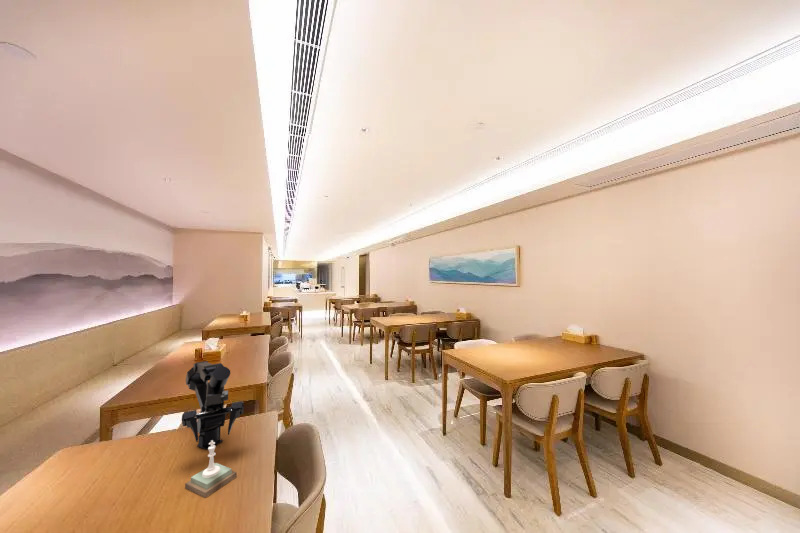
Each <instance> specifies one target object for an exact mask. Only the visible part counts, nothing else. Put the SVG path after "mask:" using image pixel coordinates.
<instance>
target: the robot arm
mask: <svg viewBox="0 0 800 533" xmlns="http://www.w3.org/2000/svg"><path fill="white" fill-rule="evenodd" d="M185 375H186V376H185V385H186V386H187V387H188V389H189V390H191V391H194V392H195V396H196V398H197V401H198V403H199V407H200V410H199V411H200V412H197V409H193V410H188V411H185V412H183V413H182V415H181V423H182V427H186V428H187V429H191V431H192V433H193V436H194V439H195V442H196V443H198V444H196V446H197V447H198V448H201V449H204V450H208V447H210V446H211V445H209V443H210V442H211V441H212V440H213V442H215V444H213V445H215V446H218V445H220V444H221V443H222V442H224V440H223V439H221V428H222V427H224V426H225V423H226V422H225V421H226V416H227V414H228V413H230V414H229V420H228V427H227V428H228V429H227V435H230V434H231V430H232V427H233V425H234V423H235V421H236V419H237V418H239V417H240V415H243V414H244V411H245V410H244V409H245V406H244V405H245V402H244V401H241V400H239V401H236V402H231V406H228V407H224V406H225V401H229V390H225V386H226V384H227V382H228V380H229V378H230V375H231V370H230V368H228V367H227V366H225V365H223V363H221V362H219V363H214V364H213V363H210V362H208V361H206V360H204V361H198V362H197V361H196V362H195V363H193V366H192V367H191V368H190V369H189V370H188V371H187V372H186V374H185Z"/></svg>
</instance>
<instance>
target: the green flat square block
mask: <svg viewBox="0 0 800 533" xmlns="http://www.w3.org/2000/svg"><path fill="white" fill-rule="evenodd" d="M214 465H215V466H219V467H220V472H219V473H218V474H217V475H215V476H212V477H209V478H204V477H202V473H203V471H204V470H205V469H207V468H208V467H206V468H204V469H202V470H201V471H199V472H197V473H196V474H194V475H192V476H191V477H190V480H188V481H187V482H185V483H184V486H185V487H184V489H186V490H187V491H189V492H192V493H194V494H196V495H199V496H200V497H202V498H205V499H206V498H208V497H209V496H210V495H212V494H213V493H215V492H216V491H218V490H220V489H222V488H223V487H224V486H225V485H227V484H229V483H230V482H231V481H232V480H235V479H236V478H238V477H237V476H238V475H237V471H234V470H232V468H231V467H228V466H225V465H223V464H221V463H218V462H214Z"/></svg>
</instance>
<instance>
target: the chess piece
mask: <svg viewBox="0 0 800 533" xmlns="http://www.w3.org/2000/svg"><path fill="white" fill-rule="evenodd" d="M213 444H215V442H213V440H212V441H211V442H210V443H209V445H211V446H210V447H208V449H207V450H208V452H209V453H208V454H207V457H208V458H209V462H208V466H207V467H206V468H207V469H206V468H204V469H205V470H204V469H203V470H204V471H203V470H202V471H203V473H202V477H204V478H209V477H212V476H215V475H217V474H218V473H219V472H220V467H219V466H215V465H214V464H215V458H214V456H216V452H215V449H216V445H213Z"/></svg>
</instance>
